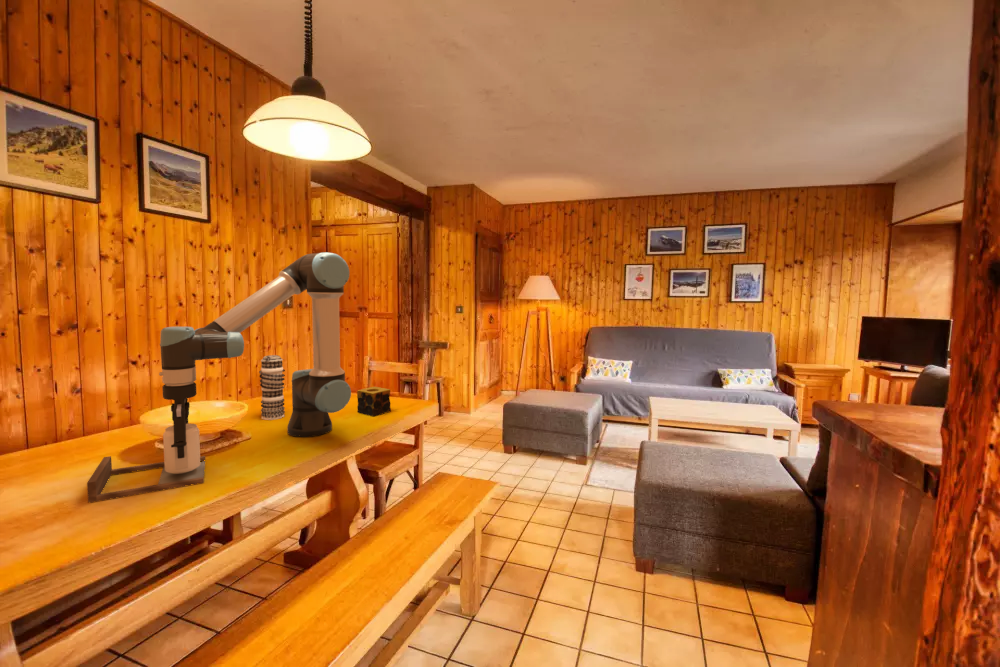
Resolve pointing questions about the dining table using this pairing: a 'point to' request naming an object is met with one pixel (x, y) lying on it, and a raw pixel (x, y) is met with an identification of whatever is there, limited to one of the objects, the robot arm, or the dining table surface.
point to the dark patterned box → (373, 401)
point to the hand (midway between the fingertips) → (182, 462)
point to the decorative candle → (272, 387)
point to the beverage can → (192, 449)
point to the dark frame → (165, 482)
